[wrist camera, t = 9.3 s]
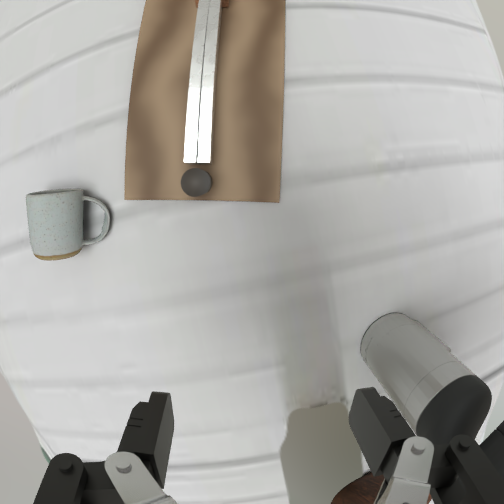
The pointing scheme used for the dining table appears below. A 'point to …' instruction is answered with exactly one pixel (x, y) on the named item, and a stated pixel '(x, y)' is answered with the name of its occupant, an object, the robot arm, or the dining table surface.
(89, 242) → the ceramic mug
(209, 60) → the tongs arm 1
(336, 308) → the dining table surface
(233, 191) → the walnut board
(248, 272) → the dining table surface
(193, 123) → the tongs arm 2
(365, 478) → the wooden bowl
